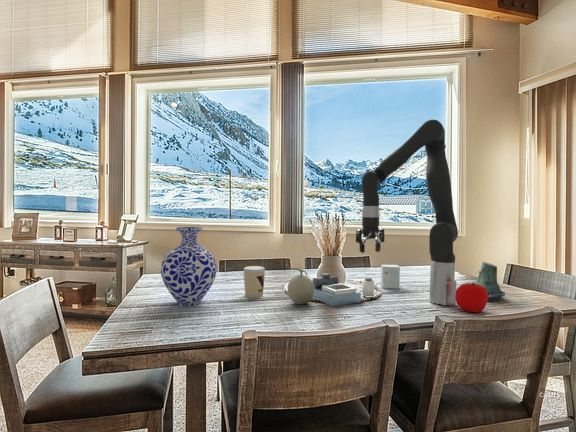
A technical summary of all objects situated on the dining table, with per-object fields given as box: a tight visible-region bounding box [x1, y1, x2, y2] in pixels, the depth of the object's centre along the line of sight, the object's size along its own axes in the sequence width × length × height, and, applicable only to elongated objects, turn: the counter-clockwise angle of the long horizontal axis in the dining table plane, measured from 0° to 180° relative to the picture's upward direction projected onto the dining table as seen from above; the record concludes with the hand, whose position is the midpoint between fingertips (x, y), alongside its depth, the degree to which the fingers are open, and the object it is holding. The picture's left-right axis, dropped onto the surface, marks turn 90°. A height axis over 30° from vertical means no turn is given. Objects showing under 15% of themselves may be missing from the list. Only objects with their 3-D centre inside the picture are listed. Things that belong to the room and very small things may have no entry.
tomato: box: [455, 282, 488, 313], centre depth 145 cm, size 12×12×11 cm
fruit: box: [285, 266, 314, 305], centre depth 152 cm, size 10×12×15 cm
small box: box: [380, 264, 401, 290], centre depth 182 cm, size 8×6×10 cm
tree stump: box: [473, 261, 507, 301], centre depth 167 cm, size 18×20×18 cm
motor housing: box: [311, 272, 362, 307], centre depth 160 cm, size 18×14×9 cm
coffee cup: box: [243, 265, 266, 298], centre depth 164 cm, size 9×9×12 cm
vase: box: [160, 226, 218, 307], centre depth 151 cm, size 22×22×30 cm
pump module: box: [362, 277, 375, 297], centre depth 165 cm, size 5×5×8 cm
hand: (370, 252), depth 170 cm, fingers open, 8 cm apart
